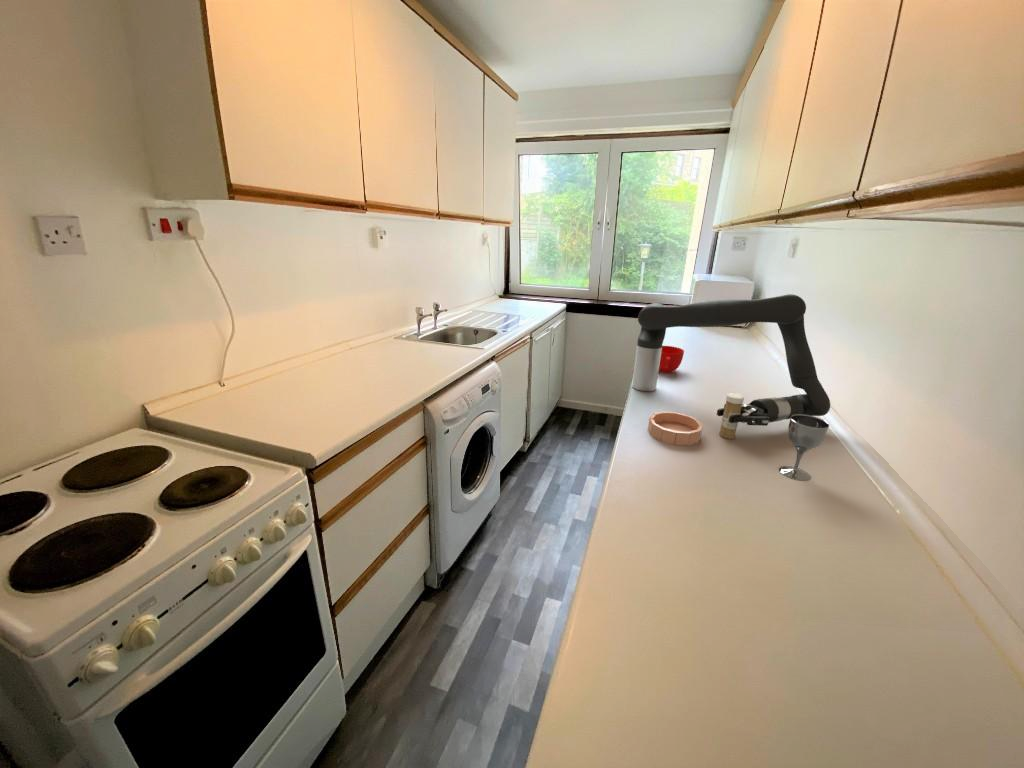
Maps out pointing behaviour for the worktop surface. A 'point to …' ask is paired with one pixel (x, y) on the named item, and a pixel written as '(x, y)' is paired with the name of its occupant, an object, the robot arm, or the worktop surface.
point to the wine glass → (804, 441)
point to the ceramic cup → (670, 359)
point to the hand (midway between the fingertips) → (724, 415)
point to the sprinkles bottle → (731, 408)
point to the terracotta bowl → (675, 428)
